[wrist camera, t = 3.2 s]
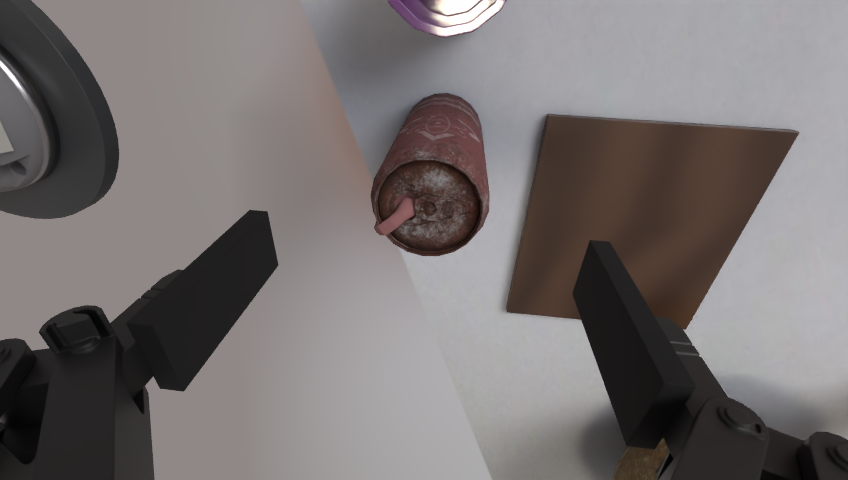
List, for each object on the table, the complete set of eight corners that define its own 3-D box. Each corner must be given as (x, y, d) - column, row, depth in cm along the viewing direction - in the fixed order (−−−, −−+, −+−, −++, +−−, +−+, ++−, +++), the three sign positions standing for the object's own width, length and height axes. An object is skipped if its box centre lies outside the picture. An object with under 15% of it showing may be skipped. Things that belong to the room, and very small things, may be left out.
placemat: (506, 308, 39) (506, 312, 39) (547, 113, 29) (548, 115, 28) (683, 325, 38) (685, 329, 38) (793, 129, 28) (800, 132, 27)
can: (387, 126, 30) (337, 202, 19) (451, 74, 28) (439, 124, 16) (433, 182, 33) (414, 282, 21) (495, 139, 30) (514, 225, 18)
